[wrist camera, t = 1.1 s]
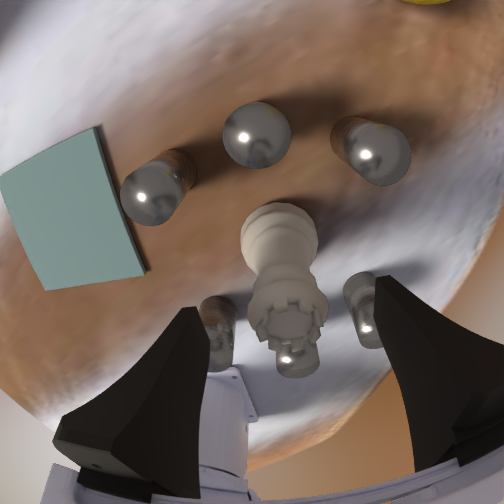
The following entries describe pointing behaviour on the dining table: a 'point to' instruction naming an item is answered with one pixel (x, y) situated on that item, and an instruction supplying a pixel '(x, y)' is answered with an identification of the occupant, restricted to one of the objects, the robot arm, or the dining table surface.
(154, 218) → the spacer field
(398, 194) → the dining table surface
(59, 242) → the mat
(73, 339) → the dining table surface
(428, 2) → the lemon
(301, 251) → the rook chess piece
